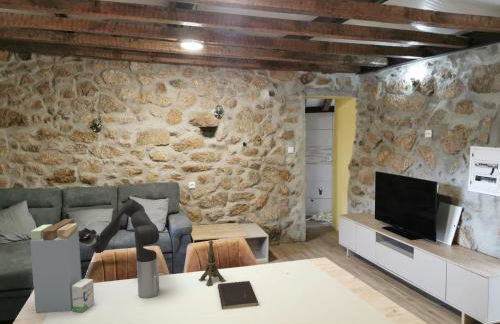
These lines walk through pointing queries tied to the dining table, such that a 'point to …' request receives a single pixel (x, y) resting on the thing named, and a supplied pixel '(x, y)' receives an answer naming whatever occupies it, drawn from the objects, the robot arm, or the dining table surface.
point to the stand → (55, 272)
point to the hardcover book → (237, 294)
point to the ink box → (82, 295)
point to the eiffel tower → (211, 267)
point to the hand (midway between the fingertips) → (76, 230)
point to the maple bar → (67, 231)
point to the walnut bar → (55, 229)
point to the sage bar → (39, 232)
